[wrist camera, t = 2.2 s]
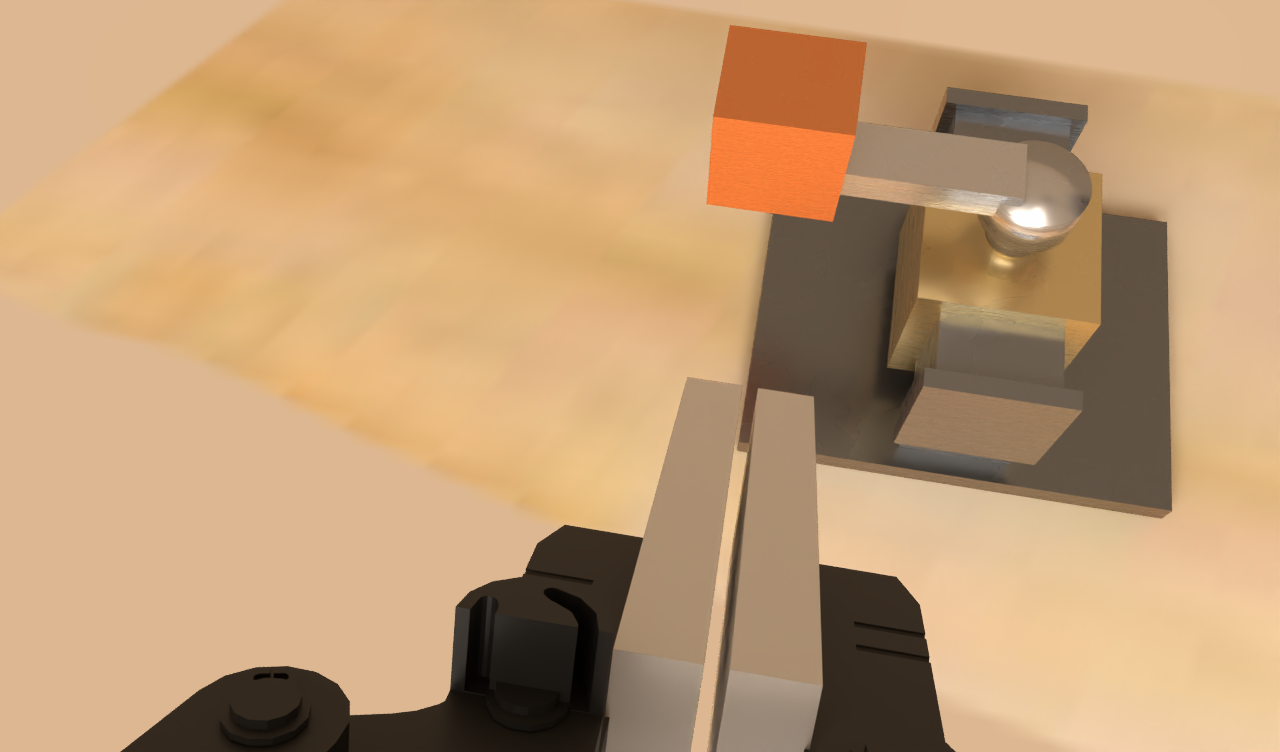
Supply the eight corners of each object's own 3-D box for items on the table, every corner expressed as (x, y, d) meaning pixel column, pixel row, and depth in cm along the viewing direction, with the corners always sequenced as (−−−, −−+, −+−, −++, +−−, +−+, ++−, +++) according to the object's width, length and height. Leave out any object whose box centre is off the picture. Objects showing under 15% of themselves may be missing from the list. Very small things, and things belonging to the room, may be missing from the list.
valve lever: (1075, 173, 33) (1132, 76, 29) (1073, 262, 32) (1132, 173, 28) (721, 125, 34) (730, 25, 30) (706, 209, 33) (713, 116, 29)
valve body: (1157, 234, 42) (1262, 96, 34) (1161, 518, 37) (1283, 428, 30) (777, 181, 43) (802, 37, 36) (737, 450, 38) (756, 348, 31)
